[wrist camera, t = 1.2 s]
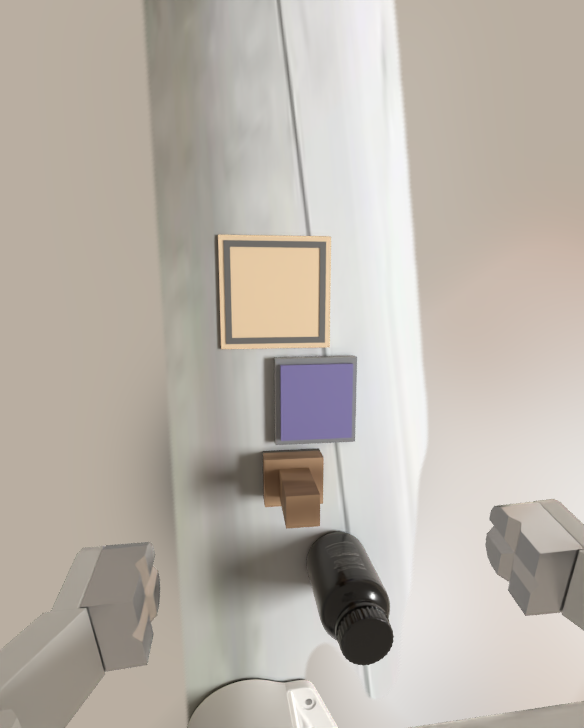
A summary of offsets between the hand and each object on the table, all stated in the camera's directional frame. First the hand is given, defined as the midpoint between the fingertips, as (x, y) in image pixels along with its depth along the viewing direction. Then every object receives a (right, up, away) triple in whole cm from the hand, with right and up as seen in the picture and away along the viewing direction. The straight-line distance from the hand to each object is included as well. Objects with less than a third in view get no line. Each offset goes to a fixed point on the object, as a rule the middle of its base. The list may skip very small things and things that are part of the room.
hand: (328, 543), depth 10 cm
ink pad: (+2, +1, +35) cm, 35 cm away
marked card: (-2, +11, +33) cm, 35 cm away
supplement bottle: (+4, -18, +39) cm, 43 cm away
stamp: (-1, -7, +36) cm, 37 cm away
